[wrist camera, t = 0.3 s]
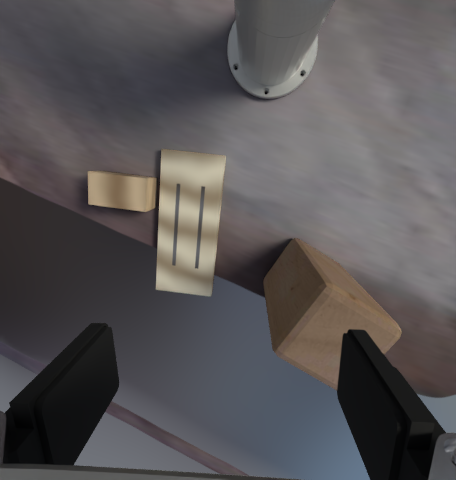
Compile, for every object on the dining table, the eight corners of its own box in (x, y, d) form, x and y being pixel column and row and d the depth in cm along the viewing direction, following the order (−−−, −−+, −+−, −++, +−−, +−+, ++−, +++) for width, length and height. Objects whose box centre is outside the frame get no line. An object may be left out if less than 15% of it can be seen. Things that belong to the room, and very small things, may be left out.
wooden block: (293, 234, 45) (327, 282, 26) (341, 264, 46) (410, 333, 27) (260, 280, 48) (269, 356, 28) (307, 308, 48) (346, 400, 29)
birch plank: (164, 149, 43) (161, 148, 42) (226, 156, 43) (225, 155, 41) (158, 286, 49) (155, 289, 48) (212, 292, 49) (211, 296, 47)
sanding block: (105, 200, 46) (88, 204, 41) (105, 170, 45) (87, 171, 40) (156, 207, 46) (145, 211, 41) (157, 177, 44) (146, 178, 40)
